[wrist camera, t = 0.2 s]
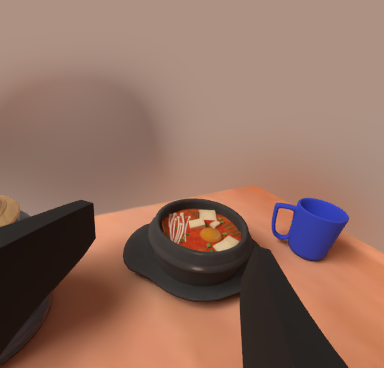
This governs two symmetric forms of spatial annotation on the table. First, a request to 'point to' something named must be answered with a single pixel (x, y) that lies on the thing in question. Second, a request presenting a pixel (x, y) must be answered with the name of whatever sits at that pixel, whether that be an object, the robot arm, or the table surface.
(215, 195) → the table surface
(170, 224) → the casserole
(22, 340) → the canister
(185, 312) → the table surface
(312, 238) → the mug
